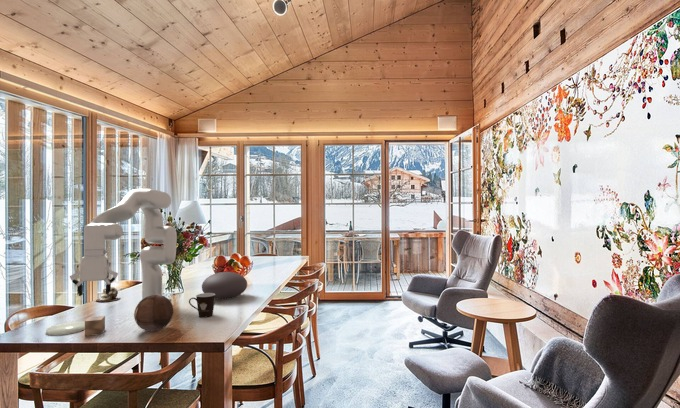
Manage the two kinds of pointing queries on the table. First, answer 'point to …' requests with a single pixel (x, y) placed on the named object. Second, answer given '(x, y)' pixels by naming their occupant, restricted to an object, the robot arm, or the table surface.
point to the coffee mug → (204, 304)
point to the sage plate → (66, 328)
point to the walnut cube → (95, 325)
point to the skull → (109, 295)
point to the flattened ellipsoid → (225, 285)
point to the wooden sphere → (153, 312)
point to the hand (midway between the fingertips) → (94, 294)
